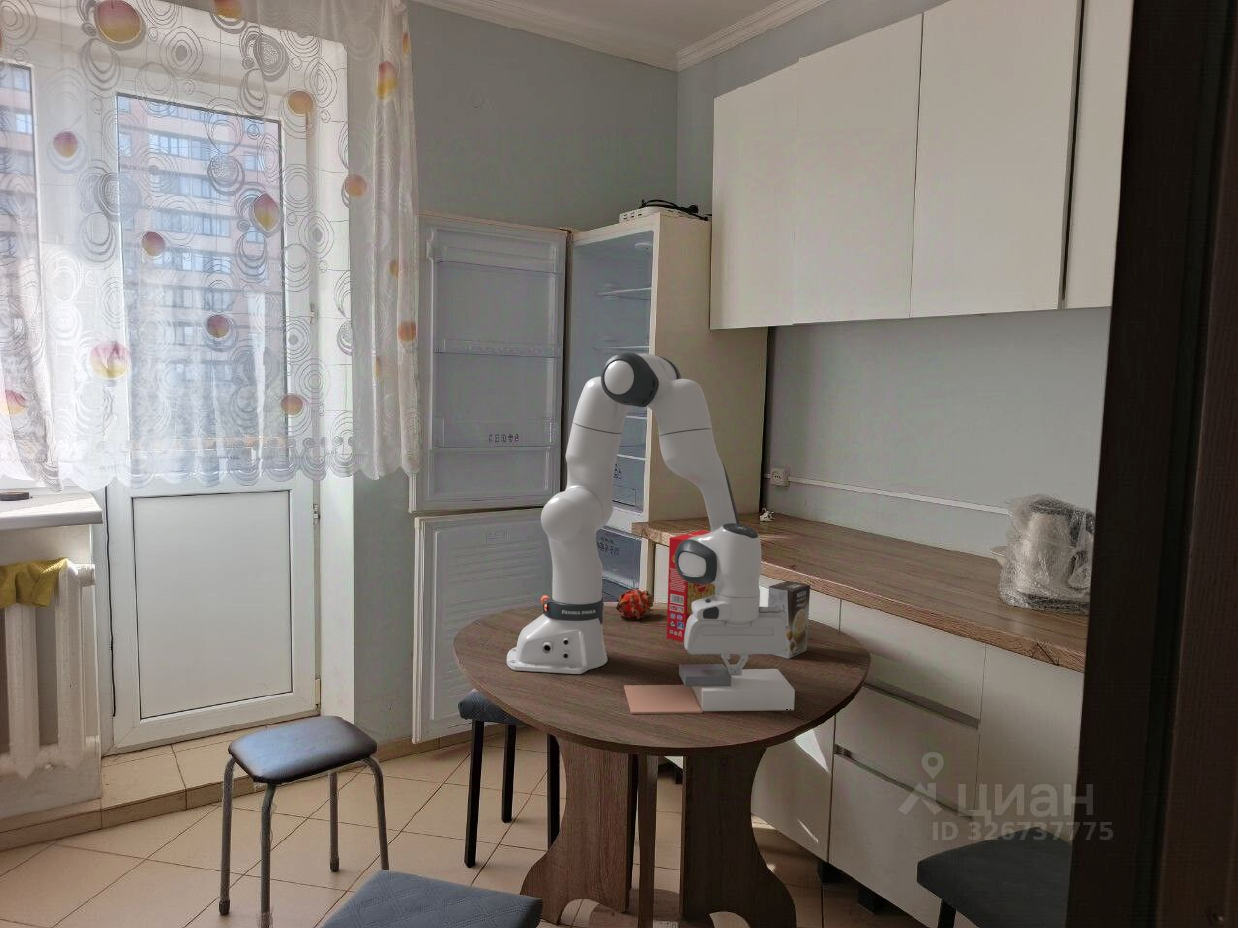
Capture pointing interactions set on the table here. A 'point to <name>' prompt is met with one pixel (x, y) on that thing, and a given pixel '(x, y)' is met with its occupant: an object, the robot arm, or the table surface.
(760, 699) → the block
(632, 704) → the mat
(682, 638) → the food packaging
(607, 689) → the table surface
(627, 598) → the dragon fruit
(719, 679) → the gray flat block
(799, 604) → the coffee box
